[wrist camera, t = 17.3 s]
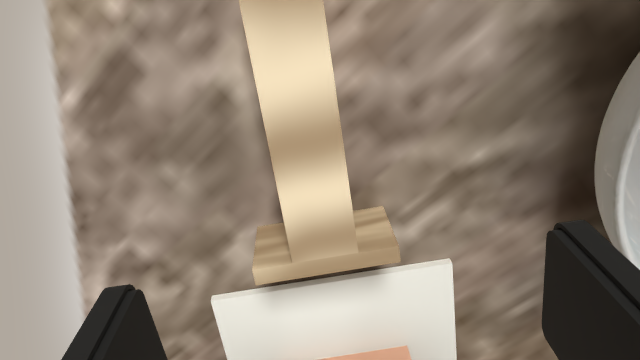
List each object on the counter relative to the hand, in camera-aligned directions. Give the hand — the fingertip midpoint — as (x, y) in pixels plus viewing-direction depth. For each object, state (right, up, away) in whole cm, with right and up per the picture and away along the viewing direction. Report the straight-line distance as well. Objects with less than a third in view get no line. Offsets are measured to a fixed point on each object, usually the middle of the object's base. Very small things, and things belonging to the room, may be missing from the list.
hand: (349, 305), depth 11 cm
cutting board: (+1, -12, +25) cm, 27 cm away
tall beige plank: (-2, +6, +17) cm, 18 cm away
